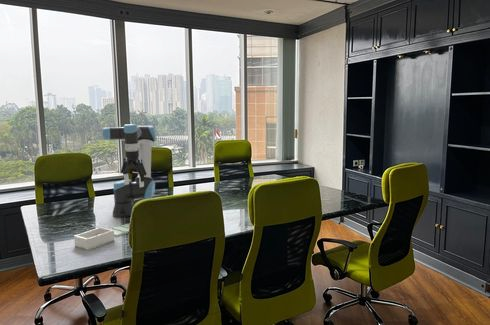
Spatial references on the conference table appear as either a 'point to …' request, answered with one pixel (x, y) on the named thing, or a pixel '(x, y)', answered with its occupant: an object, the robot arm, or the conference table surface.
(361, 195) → the conference table surface
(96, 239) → the tub
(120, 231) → the lid
